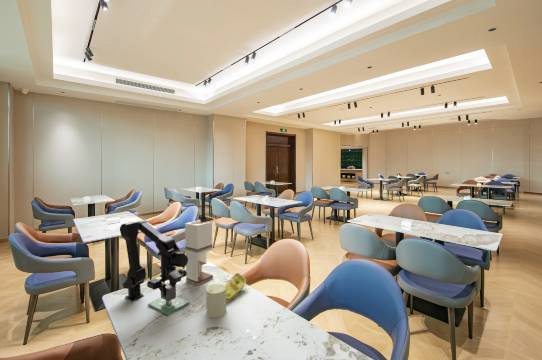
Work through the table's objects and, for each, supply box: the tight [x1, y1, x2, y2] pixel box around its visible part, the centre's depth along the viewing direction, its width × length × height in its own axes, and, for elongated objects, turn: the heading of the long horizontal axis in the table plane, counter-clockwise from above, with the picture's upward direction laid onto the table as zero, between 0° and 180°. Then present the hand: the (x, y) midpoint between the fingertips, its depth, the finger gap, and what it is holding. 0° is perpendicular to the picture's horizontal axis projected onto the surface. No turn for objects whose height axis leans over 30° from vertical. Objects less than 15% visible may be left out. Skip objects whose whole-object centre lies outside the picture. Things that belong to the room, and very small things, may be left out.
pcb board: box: [147, 296, 190, 316], centre depth 131 cm, size 16×12×4 cm
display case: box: [184, 219, 214, 286], centre depth 158 cm, size 11×11×35 cm
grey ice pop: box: [160, 282, 177, 301], centre depth 131 cm, size 10×4×6 cm, turn 57°
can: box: [205, 283, 227, 319], centre depth 123 cm, size 9×9×12 cm
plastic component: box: [224, 272, 247, 303], centre depth 143 cm, size 20×7×10 cm
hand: (168, 295), depth 130 cm, fingers closed on grey ice pop, 4 cm apart
